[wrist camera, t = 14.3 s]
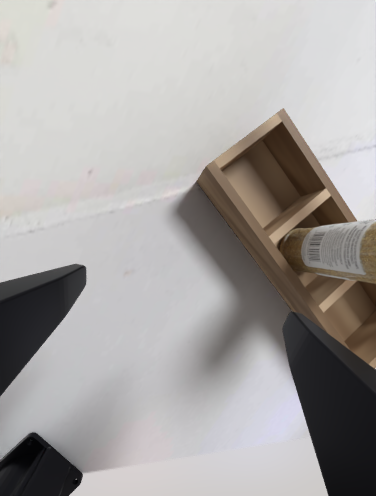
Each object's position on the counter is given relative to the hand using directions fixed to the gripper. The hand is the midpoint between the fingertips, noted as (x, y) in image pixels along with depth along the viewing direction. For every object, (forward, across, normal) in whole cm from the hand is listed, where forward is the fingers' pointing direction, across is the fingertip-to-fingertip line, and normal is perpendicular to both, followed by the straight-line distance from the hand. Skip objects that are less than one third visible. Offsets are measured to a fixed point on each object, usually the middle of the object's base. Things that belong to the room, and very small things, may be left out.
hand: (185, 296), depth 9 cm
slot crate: (+14, -11, +1) cm, 18 cm away
